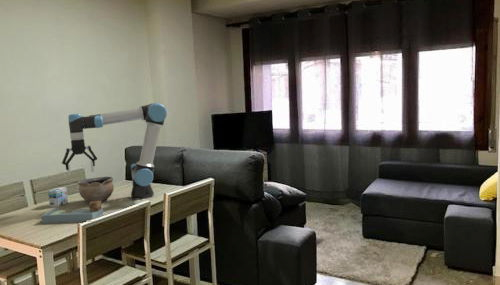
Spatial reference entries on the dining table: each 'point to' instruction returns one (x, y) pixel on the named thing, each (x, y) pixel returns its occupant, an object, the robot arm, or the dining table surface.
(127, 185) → the dining table surface
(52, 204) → the white toy van
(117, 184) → the dining table surface
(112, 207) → the dining table surface
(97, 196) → the ceramic bowl
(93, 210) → the walnut block
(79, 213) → the box
